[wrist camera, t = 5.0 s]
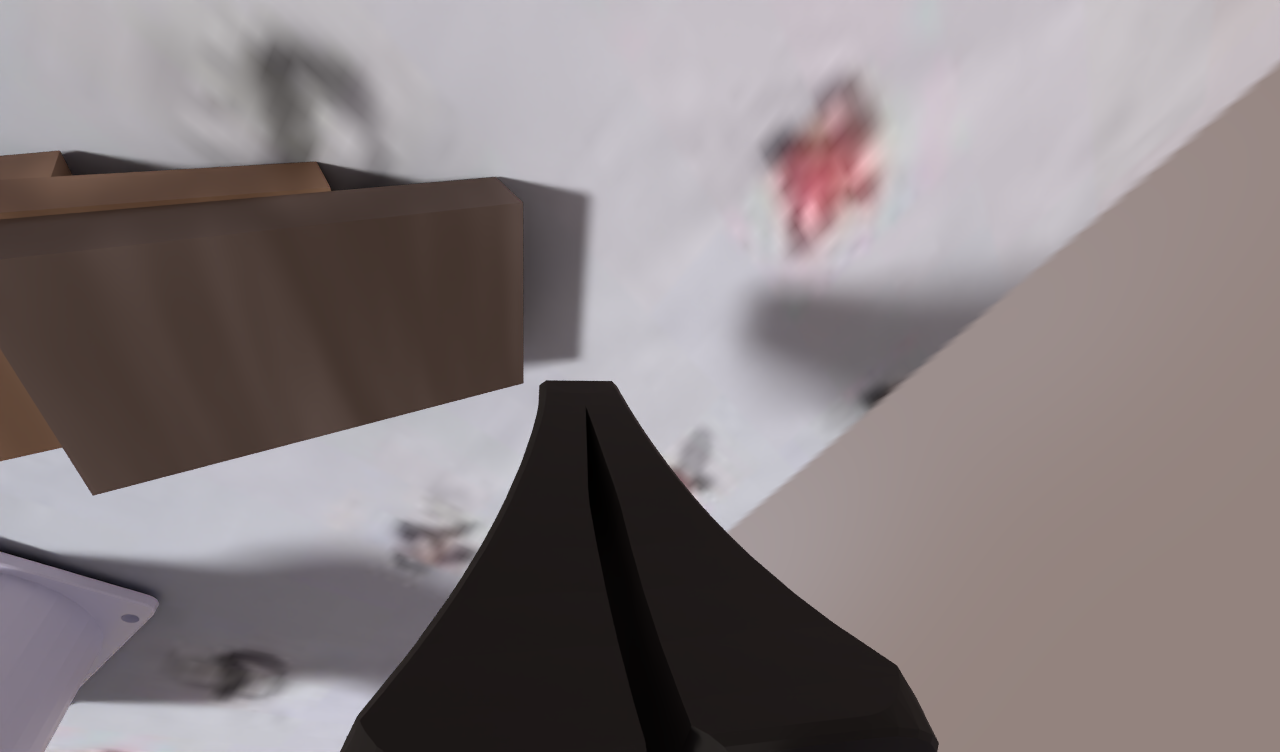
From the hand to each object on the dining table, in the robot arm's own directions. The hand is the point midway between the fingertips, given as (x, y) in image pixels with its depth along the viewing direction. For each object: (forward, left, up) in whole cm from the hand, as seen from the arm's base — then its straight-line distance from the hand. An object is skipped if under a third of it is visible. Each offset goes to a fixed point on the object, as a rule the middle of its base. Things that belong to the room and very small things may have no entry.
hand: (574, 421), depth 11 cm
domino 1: (-1, +1, -5) cm, 5 cm away
